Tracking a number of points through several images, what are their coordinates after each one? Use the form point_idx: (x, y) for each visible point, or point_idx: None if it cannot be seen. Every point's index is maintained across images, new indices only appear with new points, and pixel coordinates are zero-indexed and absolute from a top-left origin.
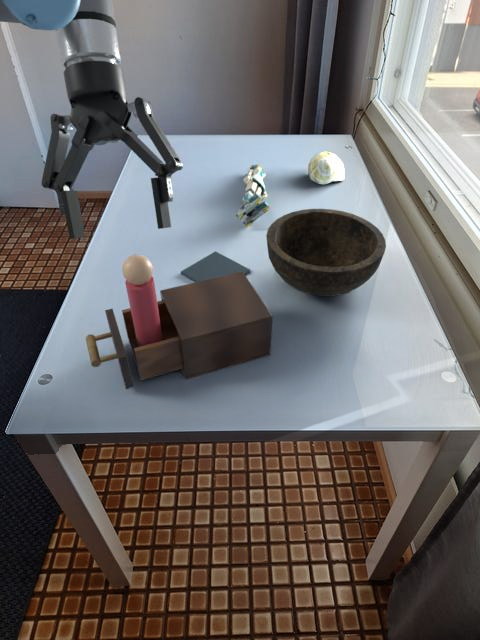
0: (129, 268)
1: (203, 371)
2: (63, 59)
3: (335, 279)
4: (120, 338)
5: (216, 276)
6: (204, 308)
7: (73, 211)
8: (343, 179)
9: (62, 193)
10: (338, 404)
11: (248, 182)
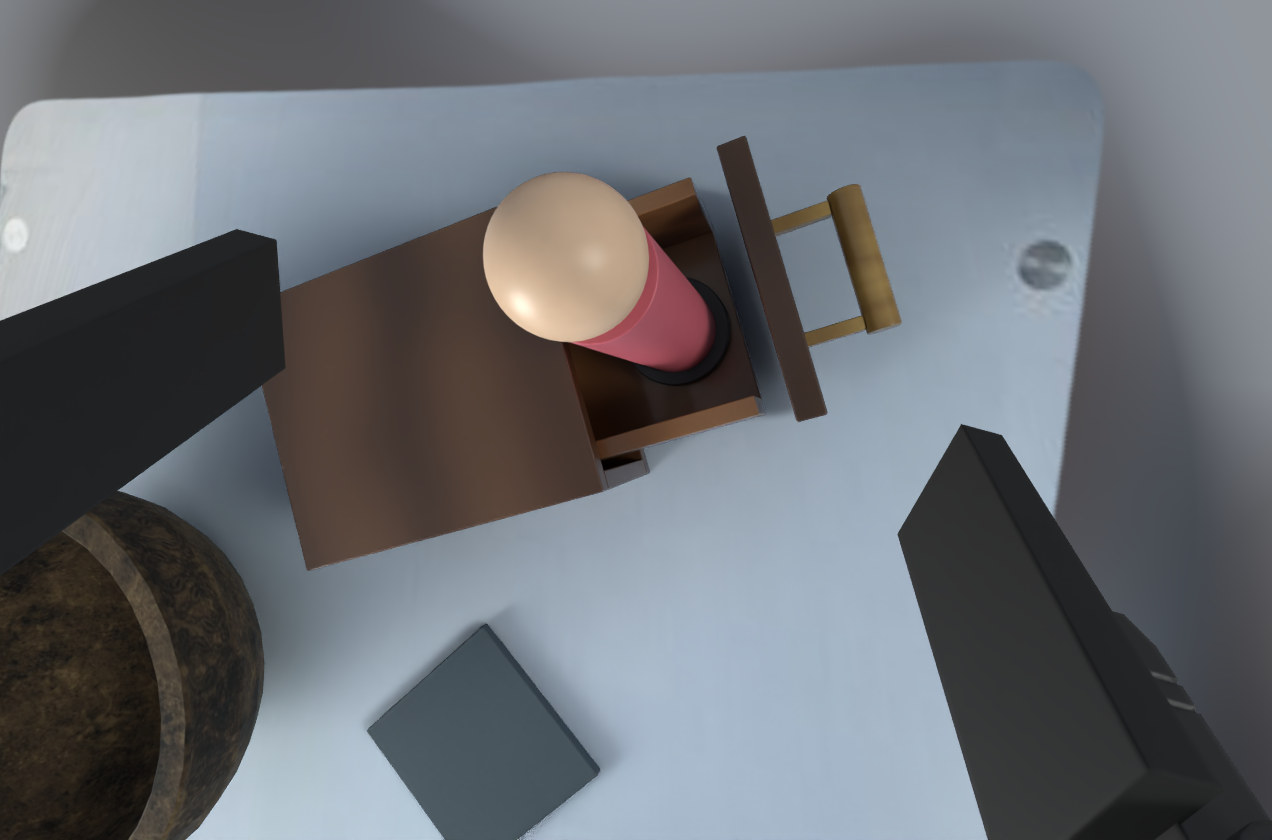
0: (581, 184)
1: None
2: None
3: None
4: (747, 240)
5: (475, 716)
6: (443, 362)
7: (1001, 612)
8: None
9: (1187, 751)
10: (239, 154)
11: None
